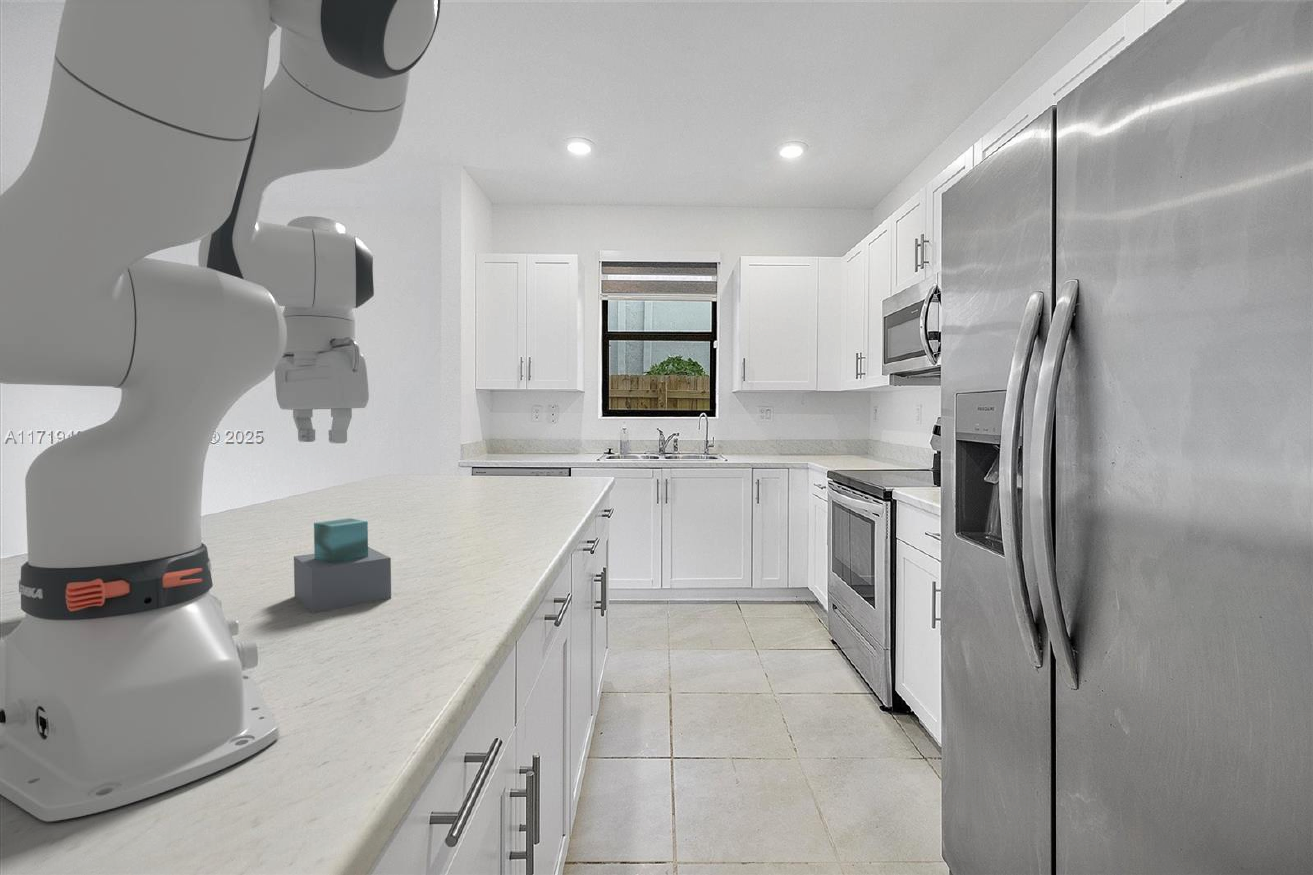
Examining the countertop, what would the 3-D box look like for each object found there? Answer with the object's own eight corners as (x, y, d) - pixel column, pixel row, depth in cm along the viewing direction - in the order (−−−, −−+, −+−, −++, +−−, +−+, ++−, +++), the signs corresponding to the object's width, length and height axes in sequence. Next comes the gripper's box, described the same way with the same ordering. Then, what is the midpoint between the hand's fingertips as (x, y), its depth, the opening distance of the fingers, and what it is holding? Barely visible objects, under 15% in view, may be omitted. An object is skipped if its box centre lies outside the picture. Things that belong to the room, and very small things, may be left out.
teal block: (368, 556, 90) (367, 521, 90) (332, 563, 86) (331, 526, 86) (349, 552, 93) (349, 518, 93) (314, 558, 89) (313, 522, 89)
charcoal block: (391, 600, 89) (390, 557, 89) (312, 614, 83) (311, 569, 83) (368, 585, 97) (367, 546, 97) (294, 598, 90) (293, 556, 90)
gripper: (380, 338, 83) (382, 443, 84) (311, 349, 96) (313, 440, 97) (331, 333, 79) (333, 445, 79) (265, 345, 91) (267, 441, 92)
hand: (321, 442), depth 88 cm, fingers open, 8 cm apart
